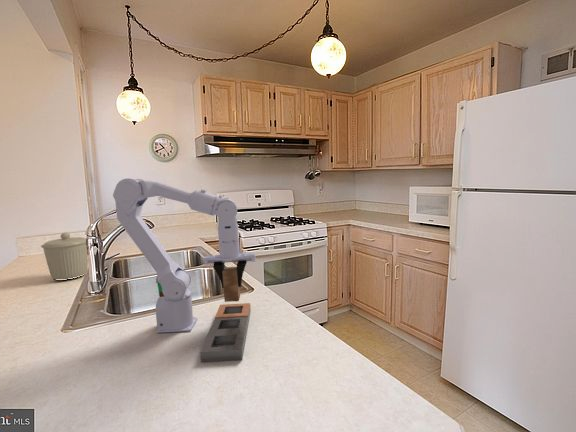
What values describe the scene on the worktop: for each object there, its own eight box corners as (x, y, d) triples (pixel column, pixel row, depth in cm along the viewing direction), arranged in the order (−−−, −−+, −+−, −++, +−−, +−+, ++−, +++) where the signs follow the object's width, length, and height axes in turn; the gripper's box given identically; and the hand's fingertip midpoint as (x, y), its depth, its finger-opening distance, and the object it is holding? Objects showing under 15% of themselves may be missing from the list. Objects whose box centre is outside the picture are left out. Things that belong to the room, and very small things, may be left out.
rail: (200, 362, 70) (200, 351, 70) (220, 312, 97) (220, 304, 97) (242, 359, 71) (241, 348, 71) (250, 311, 98) (250, 303, 97)
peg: (224, 301, 88) (222, 271, 87) (226, 296, 92) (224, 267, 91) (238, 301, 89) (236, 270, 88) (240, 295, 92) (238, 266, 91)
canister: (75, 283, 134) (70, 235, 132) (34, 284, 134) (28, 237, 132) (101, 271, 152) (97, 229, 150) (65, 272, 152) (60, 230, 150)
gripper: (200, 244, 85) (203, 292, 86) (253, 242, 85) (255, 289, 87) (205, 240, 92) (209, 284, 93) (254, 237, 92) (257, 281, 94)
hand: (232, 286), depth 91 cm, fingers closed on peg, 4 cm apart
